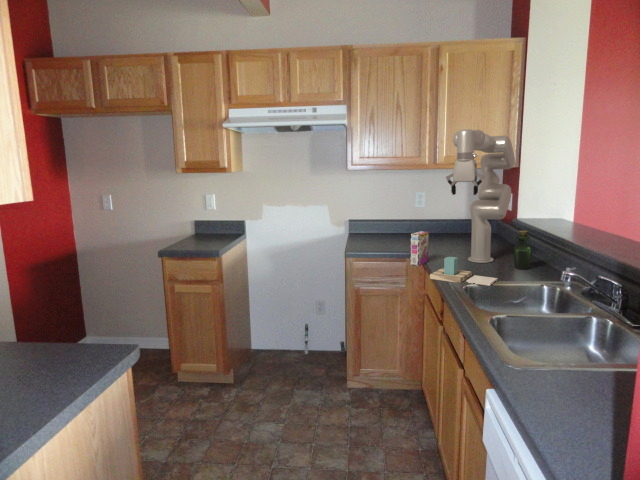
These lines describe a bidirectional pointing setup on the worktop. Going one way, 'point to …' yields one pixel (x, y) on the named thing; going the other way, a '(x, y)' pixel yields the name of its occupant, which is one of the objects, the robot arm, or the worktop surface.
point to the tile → (482, 280)
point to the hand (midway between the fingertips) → (464, 194)
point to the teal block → (451, 265)
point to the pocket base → (451, 276)
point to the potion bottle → (522, 252)
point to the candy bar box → (419, 248)
